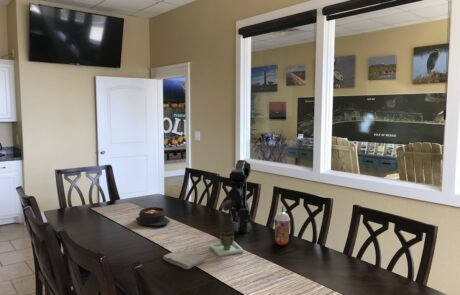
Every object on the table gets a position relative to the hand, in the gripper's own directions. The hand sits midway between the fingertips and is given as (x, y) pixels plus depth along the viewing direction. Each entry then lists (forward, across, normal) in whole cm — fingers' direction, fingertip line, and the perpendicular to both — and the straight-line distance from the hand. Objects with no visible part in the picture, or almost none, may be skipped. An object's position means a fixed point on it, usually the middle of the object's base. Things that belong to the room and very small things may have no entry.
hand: (237, 224), depth 193 cm
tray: (+11, +5, -8) cm, 14 cm away
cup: (+11, +5, -8) cm, 14 cm away
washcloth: (+12, +10, -31) cm, 35 cm away
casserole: (+13, -54, -36) cm, 66 cm away
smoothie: (+12, +6, +23) cm, 27 cm away
